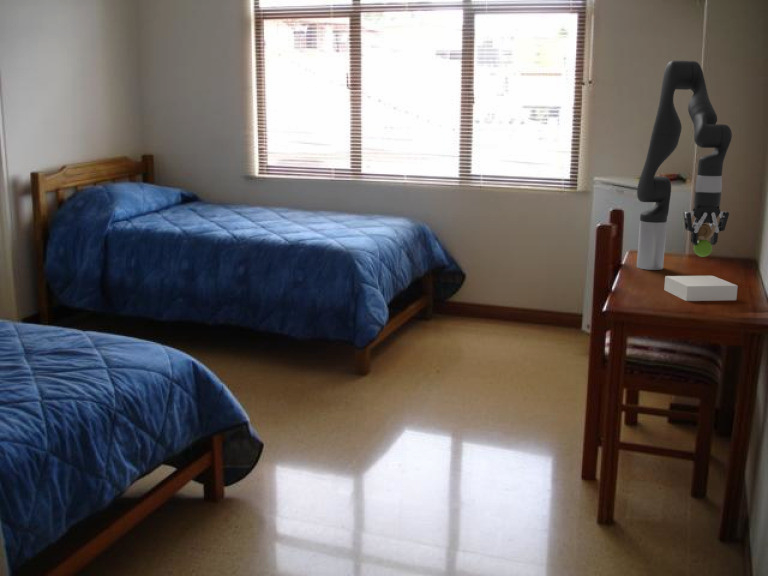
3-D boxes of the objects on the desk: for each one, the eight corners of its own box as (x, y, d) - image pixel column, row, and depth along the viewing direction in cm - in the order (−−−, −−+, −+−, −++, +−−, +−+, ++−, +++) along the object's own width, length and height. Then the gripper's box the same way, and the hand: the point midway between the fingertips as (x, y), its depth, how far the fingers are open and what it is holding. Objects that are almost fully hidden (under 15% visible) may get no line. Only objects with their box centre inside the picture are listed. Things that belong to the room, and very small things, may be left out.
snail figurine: (716, 258, 252) (719, 219, 250) (694, 258, 253) (696, 219, 251) (713, 255, 257) (715, 217, 255) (691, 255, 259) (694, 217, 256)
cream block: (664, 291, 265) (665, 276, 264) (711, 290, 267) (712, 275, 266) (686, 302, 250) (687, 286, 249) (736, 301, 251) (737, 285, 250)
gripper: (724, 189, 256) (719, 242, 259) (680, 189, 254) (676, 243, 258) (736, 191, 248) (731, 246, 252) (691, 191, 247) (686, 246, 250)
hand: (703, 244), depth 255 cm, fingers closed on snail figurine, 5 cm apart
